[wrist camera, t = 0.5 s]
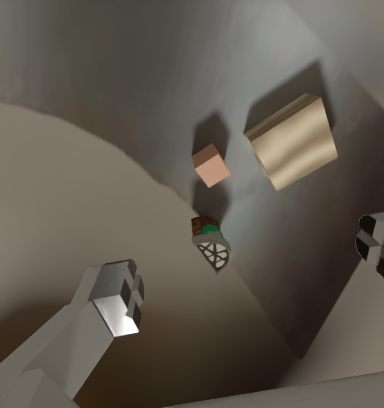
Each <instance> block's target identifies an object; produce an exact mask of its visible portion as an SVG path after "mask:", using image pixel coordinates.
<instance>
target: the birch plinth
mask: <svg viewBox="0 0 384 408" xmlns="http://www.w3.org/2000/svg"><path fill="white" fill-rule="evenodd" d="M243 134H244V136H245V138H246V140H247V141H248V143H249V145H250V147H251V149H252V151H253V153H254V155H255V157H256V159H257V160H258V162H259V164H260V166H261V168H262V170H263V172H264V174H265V176H266V177H267V179H268V181H269V182H270V183H271V185H272V186H273V187H274V188H275V190H276V191H279V190H280V189H282V188H284V187H286V186H287V185H289V184H291V183H293V182H295V181H296V180H298V179H300V178H302V177H303V176H305V175H307V174H309V173H311V172H312V171H314V170H316V169H318V168H319V167H321V166H323V165H325V164H327V163H328V162H330V161H332V160H334V159H335V158H337V157H338V155H337V152H336V148H335V145H334V141H333V138H332V134H331V131H330V127H329V123H328V120H327V116H326V113H325V109H324V106H323V102H322V99H321V97H318V96H315V95H312V94H308V93H304V94H303V95H301V96H300V97H298V98H297V99H295V100H294V101H292V102H291V103H289V104H288V105H286V106H284V107H283V108H281V109H280V110H278V111H277V112H275V113H274V114H272V115H271V116H269V117H268V118H266V119H265V120H263V121H262V122H260V123H259V124H257V125H255V126H254V127H252V128H251V129H249V130H248V131H246V132H245V133H243Z"/></svg>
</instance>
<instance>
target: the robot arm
mask: <svg viewBox="0 0 384 408" xmlns="http://www.w3.org/2000/svg"><path fill="white" fill-rule="evenodd" d="M358 226H359V227H360V228H361V231H360V232H359V233H358V235H357V236H356V241H355V244H356V248H357V251H358V253H359V254H360V256H361V257H362V258H363V259H364V260H365V261H366V262H368V263H371V264H374V265H376V271H377V272H378V273H379V274H380V275H381V276H382V277H383V278H384V212H378V213H373V214H368V215H363V216H362V217H361V219H360V221H359V225H358ZM136 268H137V267H136V264H135V262H134V260H132V259H128V260H123V261H116V262H111V263H105V264H99V265H93V266H90V267H89V268H88V269H87V271H86V273H85V275H84V277H83V279H82V282H81V283H80V286H79V288H78V290H77V292H76V294H75V296H74V298H73V300H72V302H71V304H70V305H66V306H65V307H63V308H62V309H61V310H60V311H59V312H58V313H57V314H56V315H55V316H54V317H52V318H51V319H50V320H49V321H48V322H47V323H45V324H44V325H43V326H42V327H41V328H40V329H39V330H38V331H36V333H34V334H33V335H32V336H31V337H30V338H29V339H27V340H26V341H25V342H24V343H23V344H22V345H21V346H20V347H18V348H17V349H16V350H15V351H14V352H13V353H12V354H11V355H9V356H8V357H7V358H6V359H5V360H4V361H3V362H2V363H0V408H79V407H78V406H77V405H76V404H75V403H74V402H73V401H72V399H73V398H74V396H75V395H76V393H77V392H78V390H79V389H80V388H81V386H82V385H83V383H84V382H85V380H86V379H87V377H88V376H89V374H90V373H91V371H92V370H93V368H94V367H95V365H96V364H97V362H98V361H99V360H100V358H101V357H102V355H103V354H104V352H105V351H106V349H107V348H108V346H109V345H110V343H111V342H112V340H113V337H116V336H121V335H125V334H130V333H135V332H138V331H139V325H140V319H141V312H140V309H139V306H140V305H141V304H142V303H143V299H144V286H143V282H142V279H141V276H140V275H138V274H136V273H135V272H136ZM165 408H384V371H383V372H377V373H372V374H366V375H359V376H353V377H347V378H341V379H335V380H329V381H323V382H316V383H310V384H304V385H298V386H293V387H286V388H280V389H274V390H268V391H262V392H256V393H250V394H244V395H238V396H232V397H225V398H220V399H213V400H207V401H201V402H195V403H190V404H183V405H177V406H171V407H165Z"/></svg>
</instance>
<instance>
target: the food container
mask: <svg viewBox="0 0 384 408" xmlns="http://www.w3.org/2000/svg"><path fill="white" fill-rule="evenodd" d="M191 222H192V232H193V237H192V241H193V243H194V246H195V245H196V246H197V247H198V248H199V250H200V251H201V252H202V254H203V255H204V256H205V258H206V260H207V261H208V262H209V263H210V264H211V265H212V267H213V268H214V269H215V272H216V274H219V273H220V272H222V271H223V270H224V269H225V268H226V267H227V266H228V265H229V262H230V259H231V248H230V245H229V243H228V242H227V240H225V239H224V238H223V235H222V233H221V231H220V228H219V226H218V224H217V222H216V221H215V220H214V219H212V218H210V217H204V216H202V217H196V218H193V219H191Z"/></svg>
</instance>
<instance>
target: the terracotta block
mask: <svg viewBox="0 0 384 408" xmlns="http://www.w3.org/2000/svg"><path fill="white" fill-rule="evenodd" d="M192 160H193V163H194V167H195V170H196V171H197V172H198V174H199V175H200V177H201V178H202V179H203V181H204V182H205V183H206V185H207V186H208V187H211V186H213V185H214V184H216V183H218V182H219V181H221V180H223V179H224V178H226V177H227V176H229V175H231V173H230V171H229V169H228V167H227V166H226V164H225V162H224V160H223V159H222V157H221V155H220V154H219V152H218V151H217V149H216V148H215V146H214V144H213V143H211V144H210V145H208V146H207V147H205V148H204V149H202V150H201V151H199V152H198V153H196V154H195V155H193V156H192Z"/></svg>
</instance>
